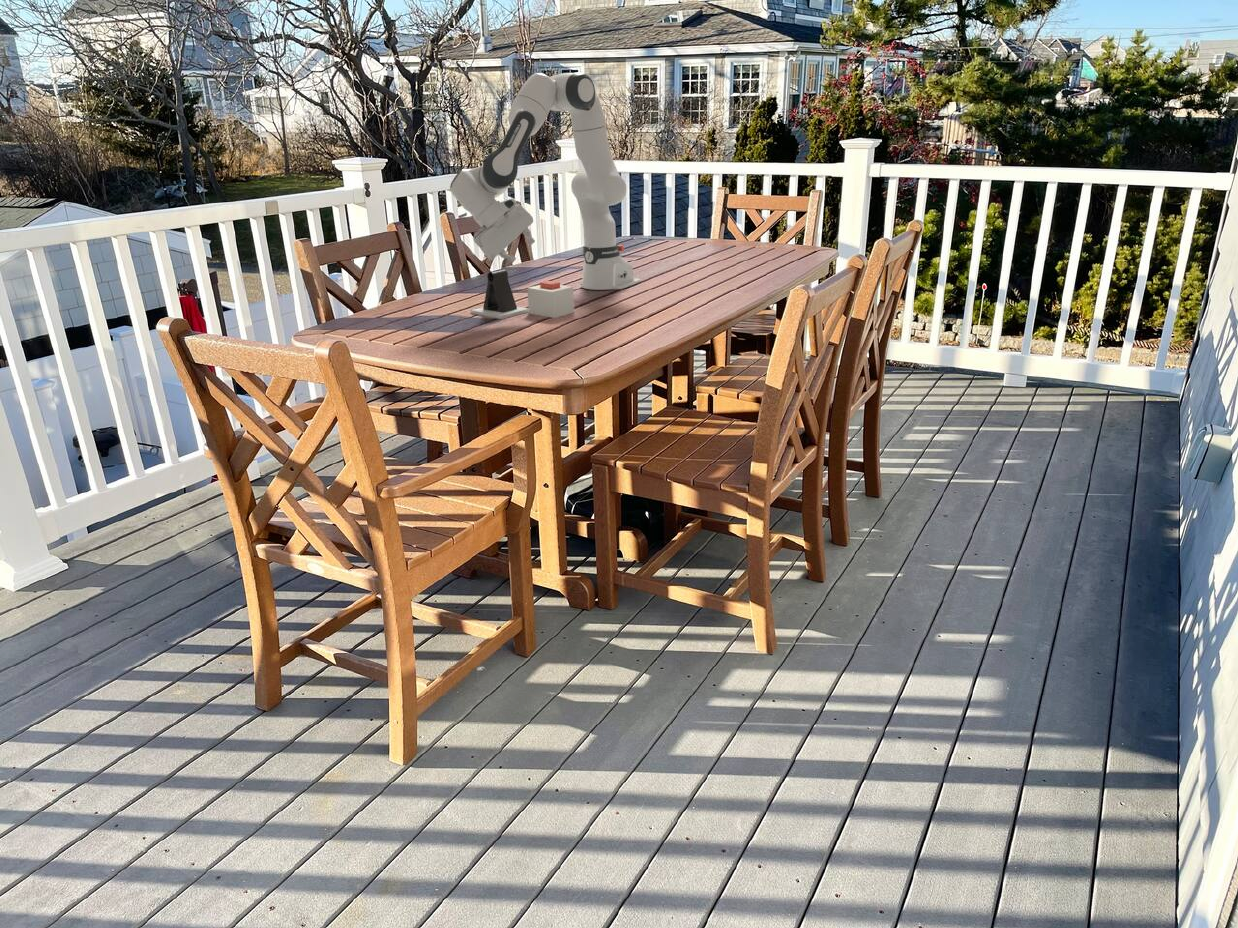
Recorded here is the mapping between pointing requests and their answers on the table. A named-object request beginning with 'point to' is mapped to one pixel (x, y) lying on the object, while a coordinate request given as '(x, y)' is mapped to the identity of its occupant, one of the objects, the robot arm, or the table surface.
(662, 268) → the table surface
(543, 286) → the button
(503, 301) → the phone stand
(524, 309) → the grey mat
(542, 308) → the box
